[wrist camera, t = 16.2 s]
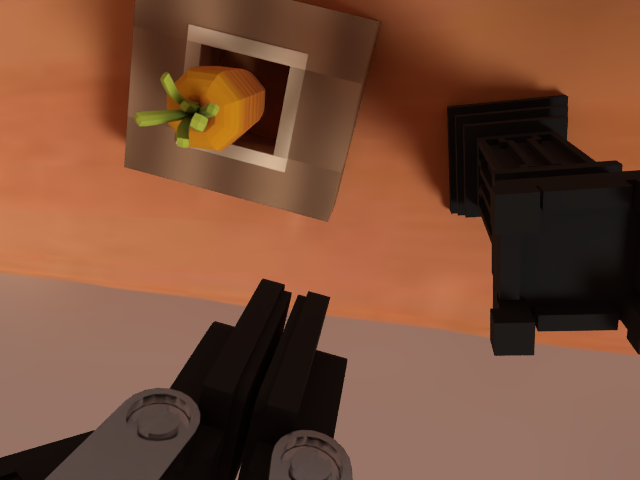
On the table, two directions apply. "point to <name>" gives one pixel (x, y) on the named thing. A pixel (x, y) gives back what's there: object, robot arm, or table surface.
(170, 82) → the carrot
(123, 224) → the table surface
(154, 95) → the seat block
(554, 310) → the chess piece
